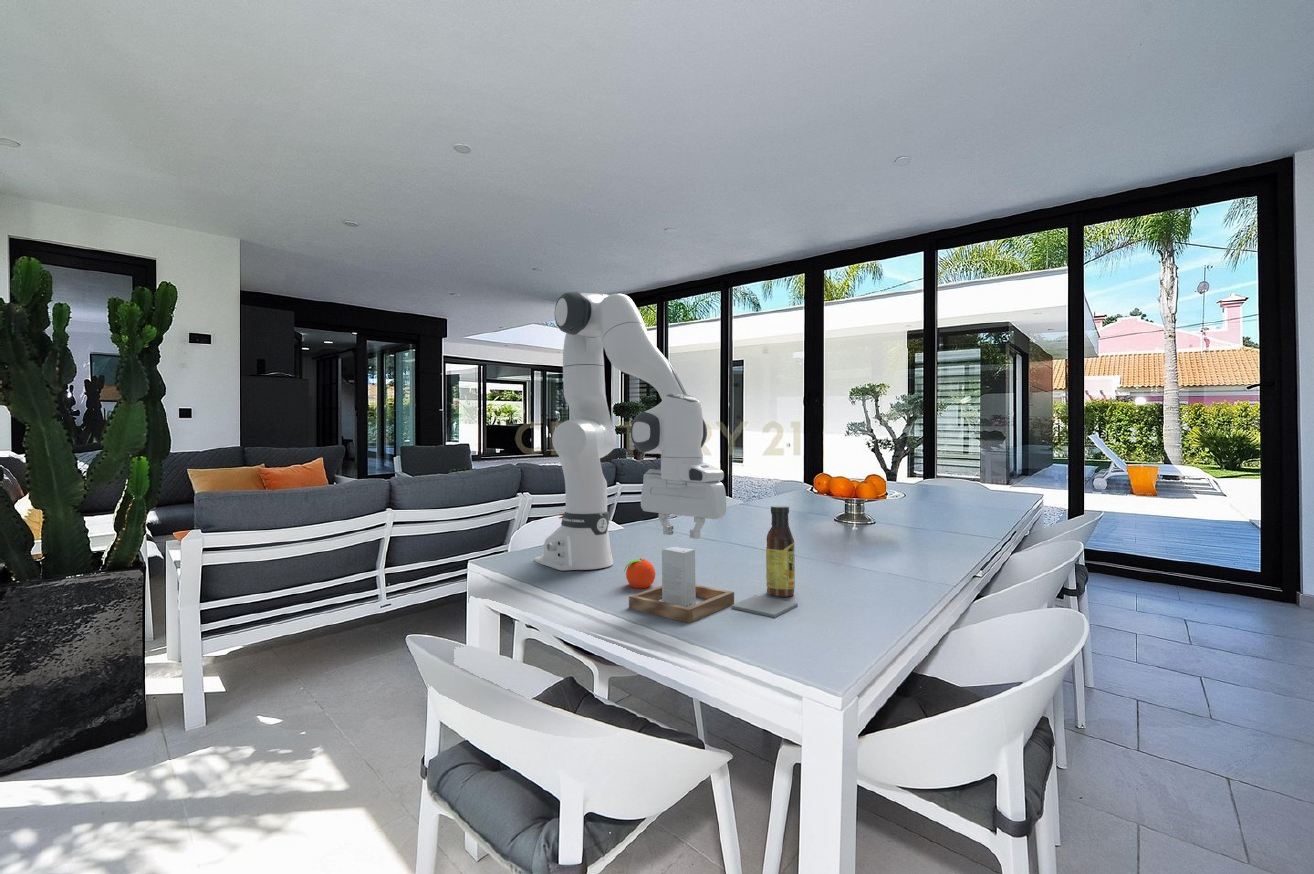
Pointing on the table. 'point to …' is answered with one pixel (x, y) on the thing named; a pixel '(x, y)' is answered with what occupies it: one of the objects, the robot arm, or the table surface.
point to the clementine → (640, 573)
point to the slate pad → (764, 606)
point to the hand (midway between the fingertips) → (681, 536)
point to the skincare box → (678, 576)
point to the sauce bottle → (780, 555)
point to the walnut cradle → (685, 614)
